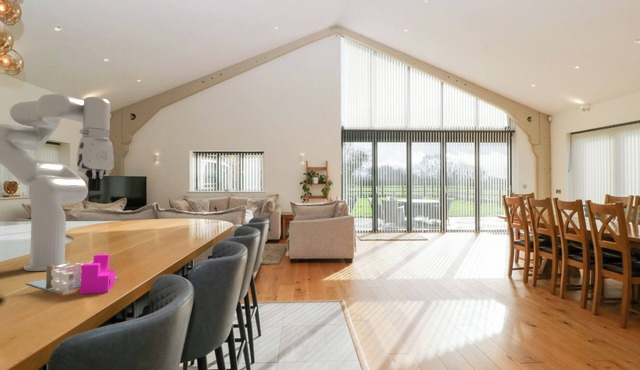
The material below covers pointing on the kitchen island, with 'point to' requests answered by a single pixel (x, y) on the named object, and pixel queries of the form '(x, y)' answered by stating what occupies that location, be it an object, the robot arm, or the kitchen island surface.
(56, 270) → the fixed panel and post
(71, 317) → the kitchen island surface
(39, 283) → the mat
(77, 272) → the swing panel
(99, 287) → the toy block
